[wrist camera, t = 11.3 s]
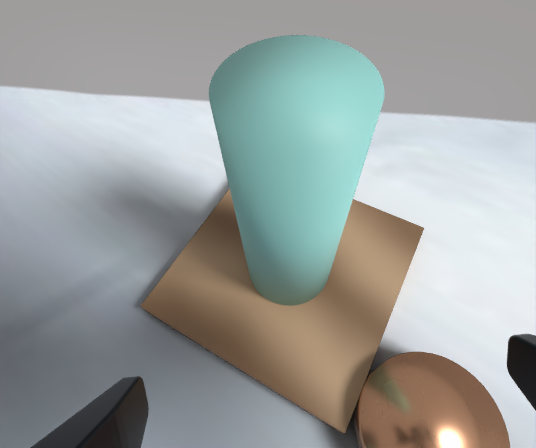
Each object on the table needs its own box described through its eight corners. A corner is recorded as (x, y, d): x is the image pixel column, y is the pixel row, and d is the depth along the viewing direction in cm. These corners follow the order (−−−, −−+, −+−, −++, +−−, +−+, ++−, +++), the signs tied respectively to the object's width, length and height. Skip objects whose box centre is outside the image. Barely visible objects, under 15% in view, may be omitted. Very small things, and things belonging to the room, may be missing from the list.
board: (341, 433, 16) (344, 433, 15) (146, 311, 19) (140, 306, 18) (418, 236, 21) (424, 228, 20) (253, 167, 24) (252, 158, 24)
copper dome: (493, 528, 14) (520, 541, 12) (346, 484, 15) (352, 490, 13) (481, 375, 17) (501, 368, 15) (359, 347, 18) (366, 338, 16)
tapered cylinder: (280, 322, 18) (276, 182, 7) (233, 258, 20) (178, 76, 9) (346, 273, 19) (422, 94, 9) (295, 218, 21) (308, 17, 11)
